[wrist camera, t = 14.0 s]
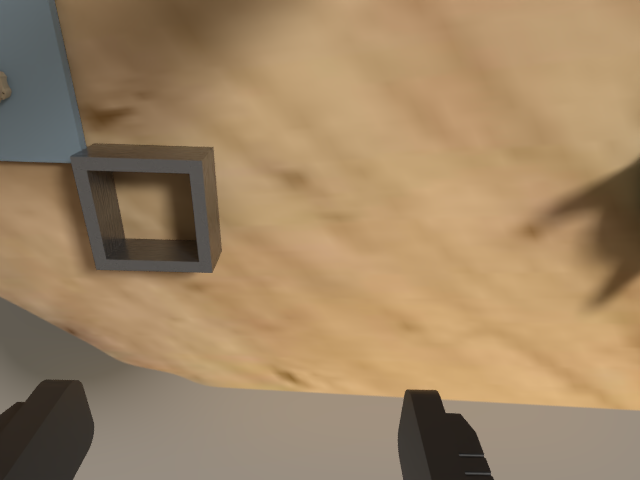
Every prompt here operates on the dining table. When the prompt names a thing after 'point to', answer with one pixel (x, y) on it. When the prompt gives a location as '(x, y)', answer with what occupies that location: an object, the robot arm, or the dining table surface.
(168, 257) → the socket block
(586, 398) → the dining table surface
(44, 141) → the rubber mat
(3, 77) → the handle
